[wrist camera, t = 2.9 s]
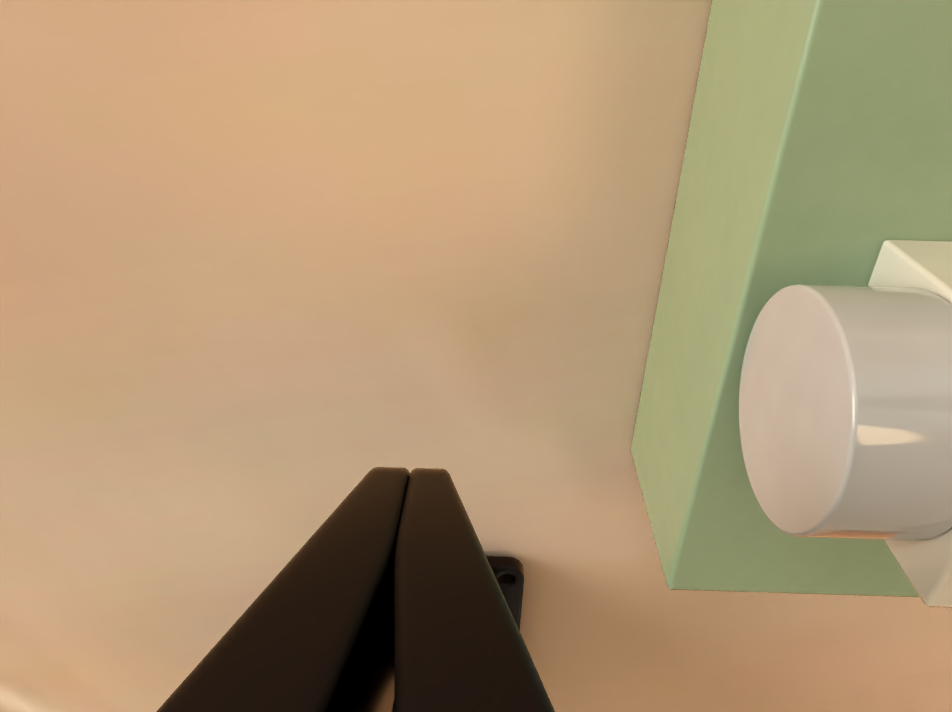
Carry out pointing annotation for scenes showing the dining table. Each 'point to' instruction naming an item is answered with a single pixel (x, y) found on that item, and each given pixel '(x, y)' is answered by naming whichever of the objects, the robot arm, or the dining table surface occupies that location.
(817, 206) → the stand
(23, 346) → the dining table surface
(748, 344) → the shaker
